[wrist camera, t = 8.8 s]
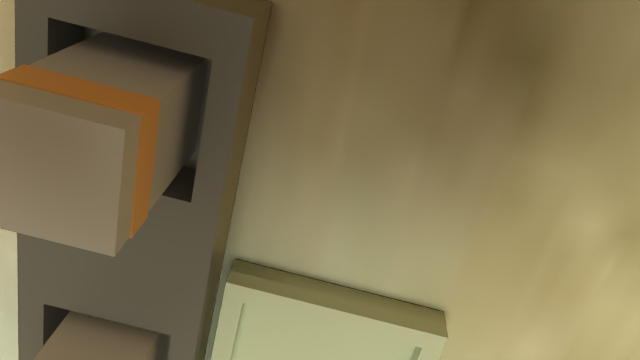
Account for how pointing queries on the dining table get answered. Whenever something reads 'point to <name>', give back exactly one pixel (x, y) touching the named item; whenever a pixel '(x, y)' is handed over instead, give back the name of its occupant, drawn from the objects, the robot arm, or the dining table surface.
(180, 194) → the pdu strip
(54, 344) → the plug
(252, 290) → the tray
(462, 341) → the dining table surface
